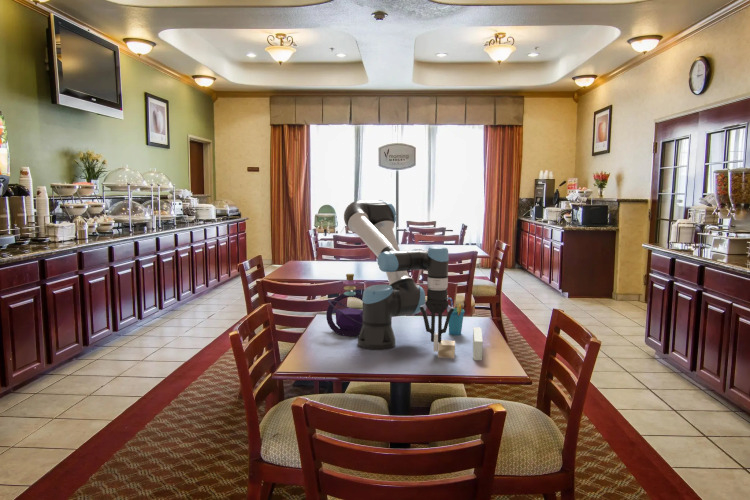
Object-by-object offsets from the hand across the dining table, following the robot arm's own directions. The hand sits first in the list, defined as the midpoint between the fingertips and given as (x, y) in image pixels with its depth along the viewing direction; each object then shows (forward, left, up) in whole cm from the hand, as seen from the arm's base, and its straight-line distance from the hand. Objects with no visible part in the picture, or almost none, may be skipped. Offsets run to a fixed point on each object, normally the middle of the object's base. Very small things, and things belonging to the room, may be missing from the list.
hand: (435, 350), depth 191 cm
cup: (+6, +31, -2) cm, 32 cm away
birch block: (+4, 0, -2) cm, 4 cm away
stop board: (+16, +7, -2) cm, 17 cm away
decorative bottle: (-39, +24, -2) cm, 46 cm away
